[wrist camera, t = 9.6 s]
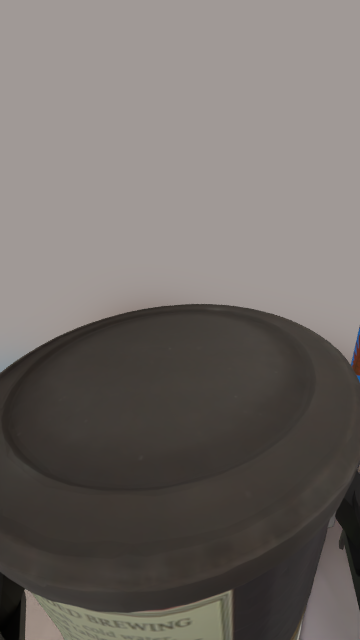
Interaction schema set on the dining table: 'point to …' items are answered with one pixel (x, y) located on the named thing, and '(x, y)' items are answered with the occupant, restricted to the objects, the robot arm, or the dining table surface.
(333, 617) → the dining table surface
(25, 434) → the coffee can
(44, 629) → the dining table surface
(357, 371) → the thermos
